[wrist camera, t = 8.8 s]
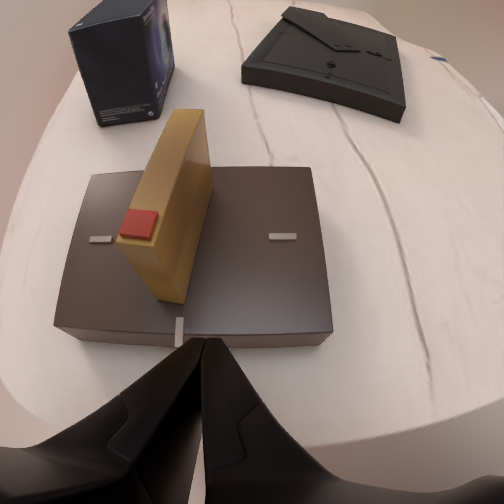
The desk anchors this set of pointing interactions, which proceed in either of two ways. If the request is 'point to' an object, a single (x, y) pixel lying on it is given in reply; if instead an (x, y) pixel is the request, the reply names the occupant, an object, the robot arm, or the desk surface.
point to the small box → (125, 58)
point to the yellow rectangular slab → (170, 208)
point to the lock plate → (206, 267)
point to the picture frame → (330, 63)
